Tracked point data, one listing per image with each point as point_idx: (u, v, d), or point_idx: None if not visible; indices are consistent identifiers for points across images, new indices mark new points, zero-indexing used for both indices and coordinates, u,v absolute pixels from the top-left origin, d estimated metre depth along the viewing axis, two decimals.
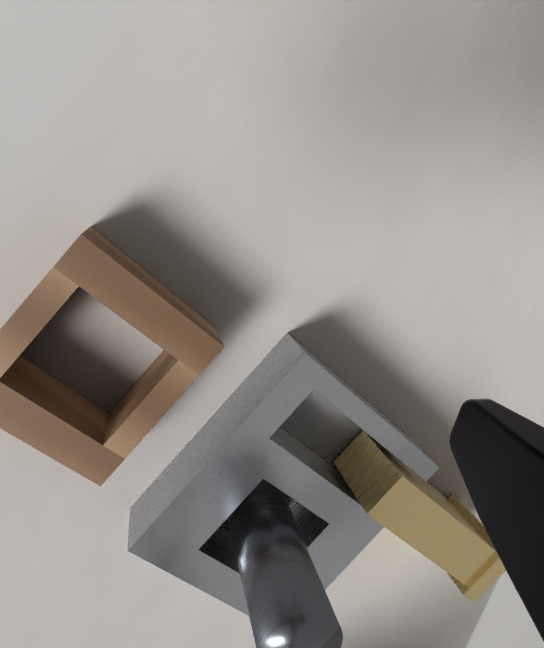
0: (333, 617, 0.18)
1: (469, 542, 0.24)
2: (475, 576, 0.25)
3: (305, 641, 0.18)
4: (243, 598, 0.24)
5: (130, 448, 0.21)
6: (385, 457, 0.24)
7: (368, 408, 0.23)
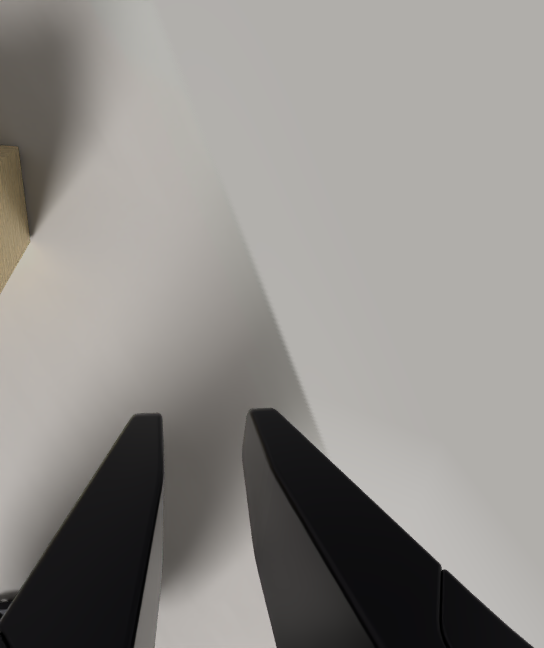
0: None
1: None
2: None
3: None
4: None
5: None
6: None
7: None
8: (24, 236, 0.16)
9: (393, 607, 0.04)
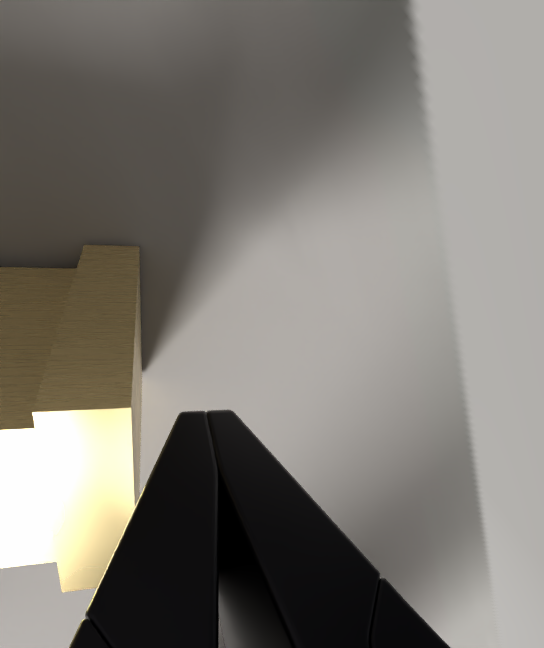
0: None
1: None
2: (56, 528, 0.06)
3: None
4: None
5: None
6: None
7: None
8: (141, 383, 0.10)
9: (322, 618, 0.04)
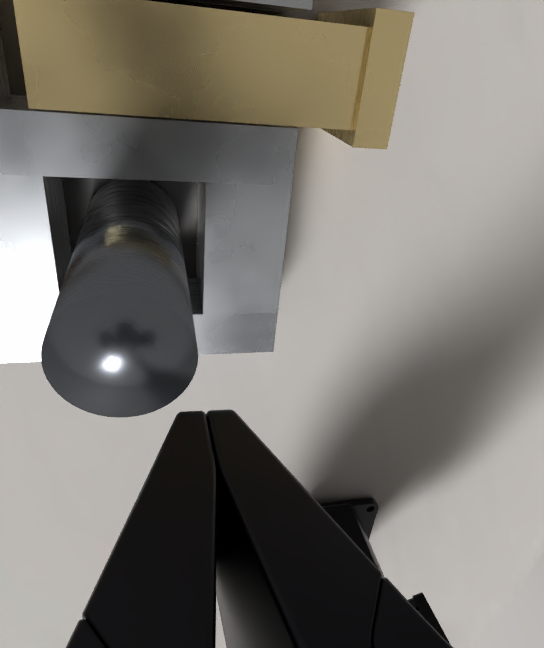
0: (129, 291, 0.10)
1: (287, 41, 0.12)
2: (357, 103, 0.13)
3: (118, 347, 0.10)
4: None
5: None
6: None
7: None
8: None
9: (325, 618, 0.04)
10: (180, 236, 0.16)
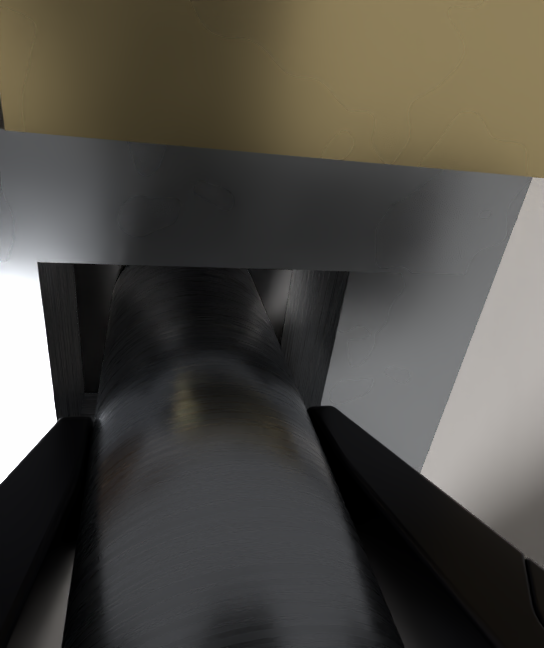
0: None
1: None
2: None
3: None
4: None
5: None
6: None
7: None
8: None
9: (487, 593, 0.04)
10: None
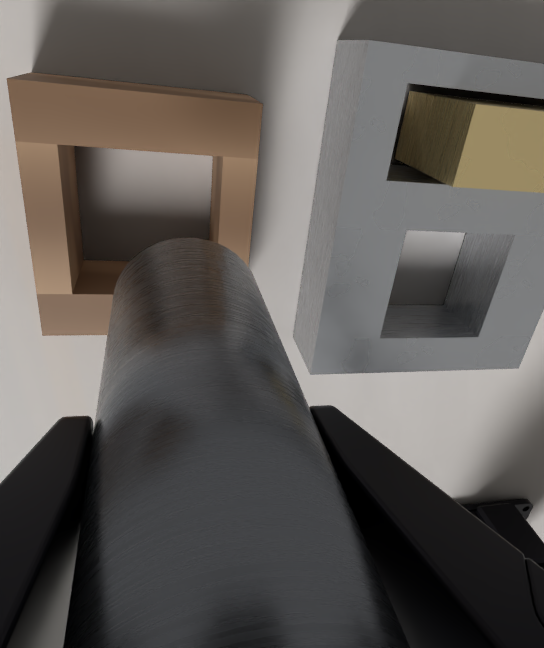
0: None
1: None
2: None
3: None
4: (455, 357, 0.21)
5: None
6: (447, 100, 0.16)
7: (497, 59, 0.15)
8: None
9: (488, 593, 0.04)
10: None
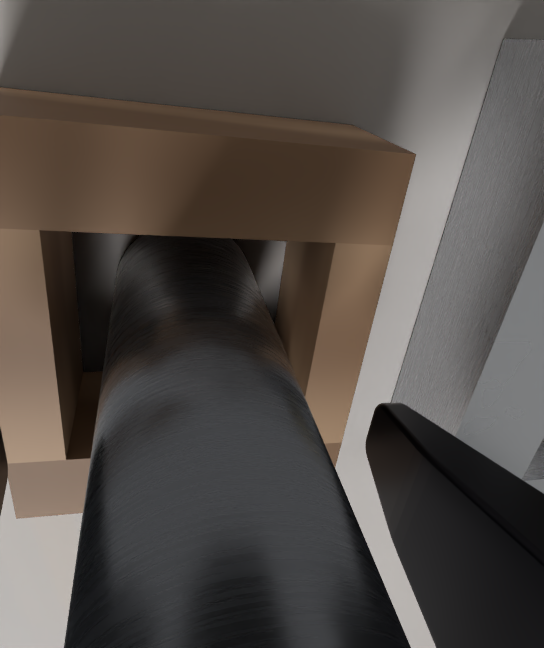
0: (298, 632, 0.03)
1: None
2: None
3: None
4: None
5: (340, 425, 0.11)
6: None
7: None
8: None
9: None
10: None
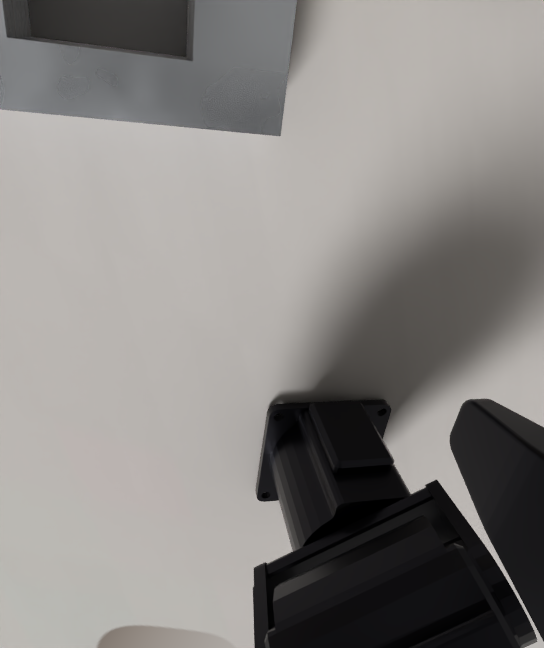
0: None
1: None
2: None
3: None
4: (163, 99, 0.14)
5: None
6: None
7: None
8: None
9: None
10: None
